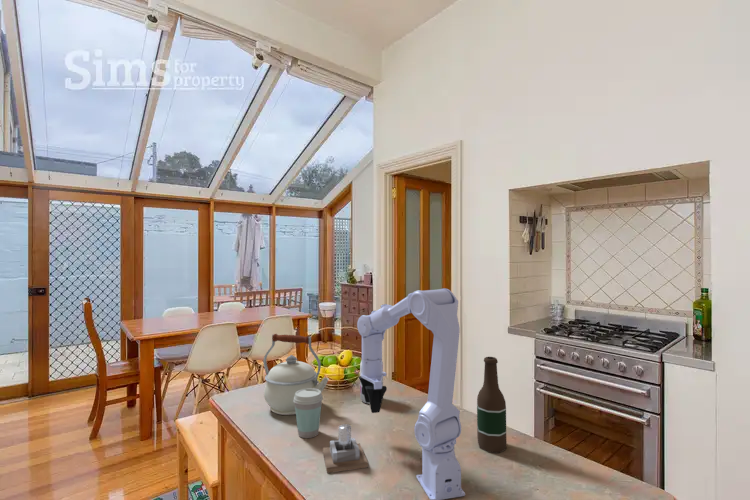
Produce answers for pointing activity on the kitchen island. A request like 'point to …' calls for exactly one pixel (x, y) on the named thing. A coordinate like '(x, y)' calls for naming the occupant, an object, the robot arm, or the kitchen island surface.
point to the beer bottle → (491, 411)
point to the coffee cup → (308, 411)
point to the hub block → (344, 457)
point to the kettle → (289, 377)
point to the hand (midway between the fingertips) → (372, 406)
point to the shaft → (344, 437)
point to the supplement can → (362, 387)
